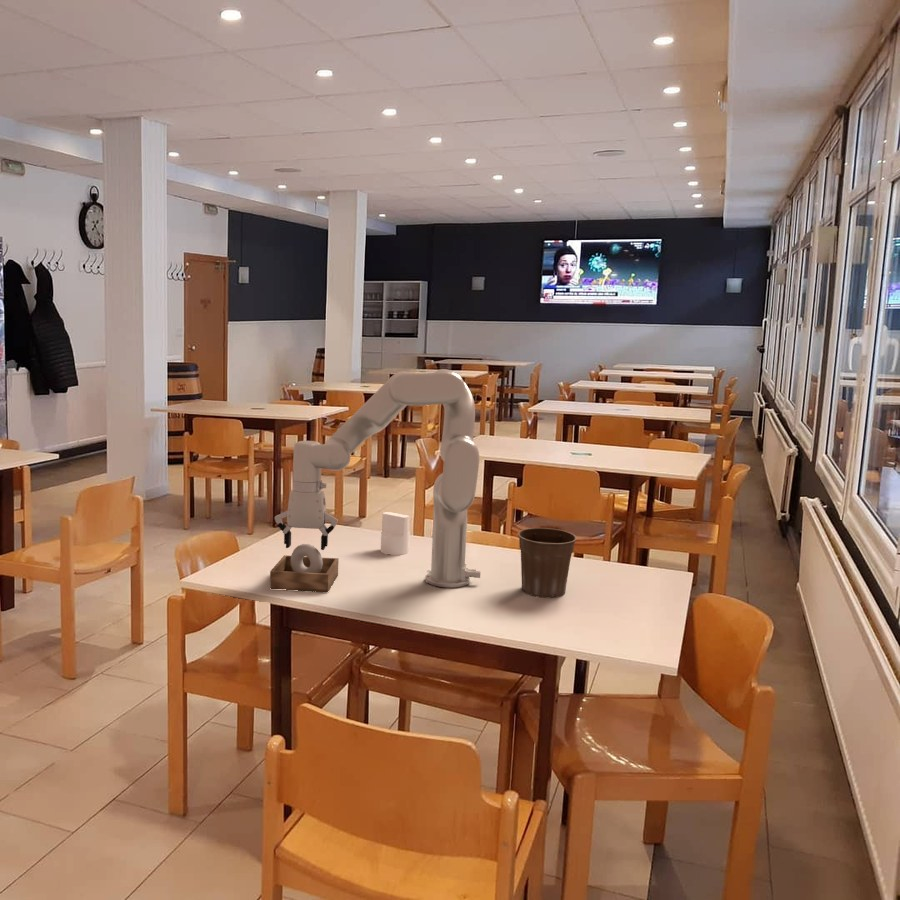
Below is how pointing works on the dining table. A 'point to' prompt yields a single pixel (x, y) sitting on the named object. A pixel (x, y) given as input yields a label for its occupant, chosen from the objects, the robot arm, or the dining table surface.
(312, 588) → the walnut box
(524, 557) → the plant pot
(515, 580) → the dining table surface
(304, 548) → the donut
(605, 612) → the dining table surface
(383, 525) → the white block
